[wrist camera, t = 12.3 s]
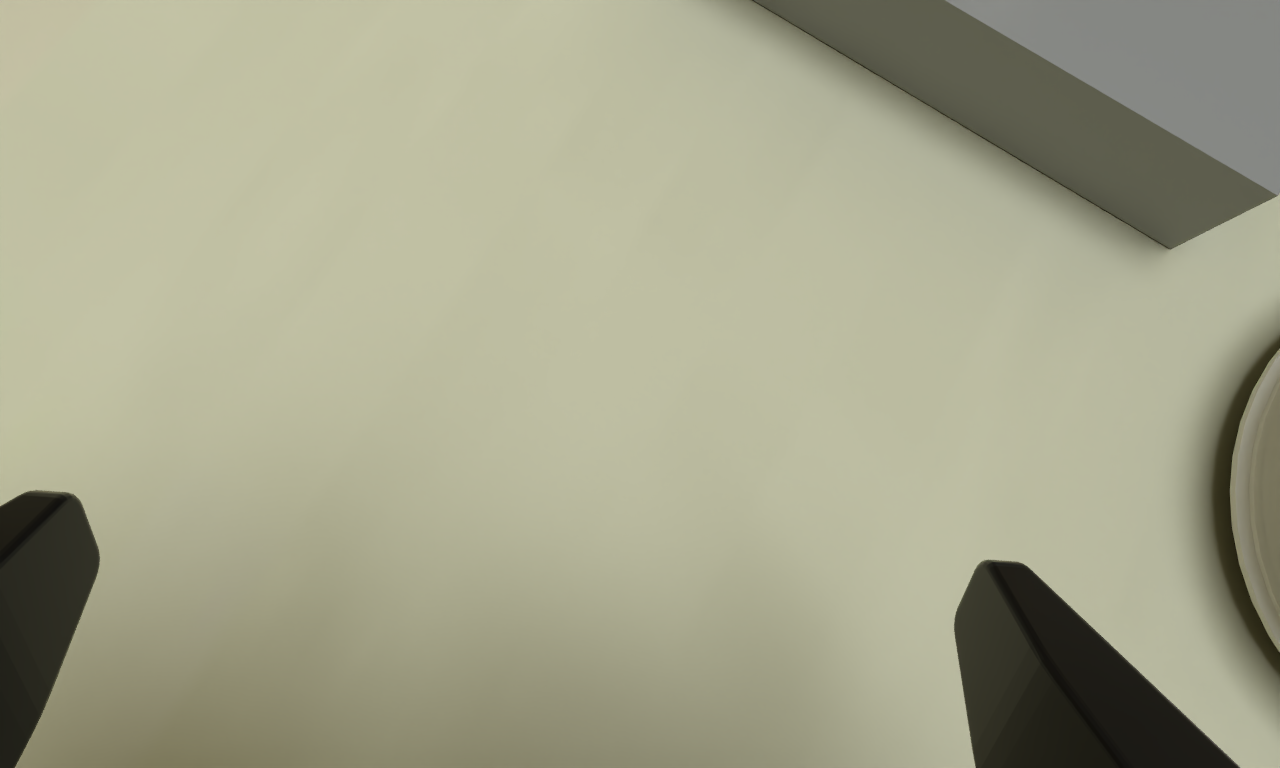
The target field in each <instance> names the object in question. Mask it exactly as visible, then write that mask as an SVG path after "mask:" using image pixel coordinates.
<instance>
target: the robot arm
mask: <svg viewBox="0 0 1280 768" xmlns="http://www.w3.org/2000/svg"><path fill="white" fill-rule="evenodd" d="M99 562H100V556H99V549H98V546H97V543H96V541H95V538H94V535H93V533H92V530H91V527H90V525H89V522H88V519H87V517H86V514H85V511H84V508H83V506H82V503H81V501H80V500H79V499H78V498H77V497H76V496H75V495H74V494H70V493H66V492H52V491H38V490H35V491H28V492H25V493H23V494H21V495H19V496H17V497H15V498H14V499H12V500H10V501H9V502H7V503H5V504H3V505H2V506H0V768H15V766H16V764H17V762H18V760H19V758H20V756H21V755H22V753H23V751H24V749H25V747H26V745H27V743H28V741H29V739H30V737H31V735H32V733H33V731H34V729H35V727H36V725H37V723H38V721H39V719H40V717H41V715H42V712H43V710H44V708H45V705H46V703H47V701H48V698H49V696H50V694H51V691H52V689H53V686H54V684H55V681H56V678H57V676H58V673H59V671H60V668H61V666H62V663H63V661H64V658H65V656H66V653H67V650H68V648H69V645H70V643H71V640H72V638H73V635H74V633H75V630H76V627H77V625H78V622H79V620H80V617H81V615H82V612H83V610H84V607H85V605H86V602H87V599H88V597H89V594H90V592H91V589H92V587H93V584H94V582H95V579H96V576H97V573H98V569H99ZM954 632H955V639H956V646H957V652H958V659H959V665H960V672H961V678H962V685H963V691H964V698H965V704H966V711H967V717H968V724H969V730H970V737H971V743H972V750H973V755H974V761H975V766H976V768H1240V767H1239V766H1238V765H1237V764H1236V763H1235V762H1234V761H1233V760H1232V759H1231V758H1230V757H1229V756H1228V755H1227V754H1225V753H1224V752H1223V751H1222V750H1221V749H1220V748H1219V747H1218V746H1217V745H1216V744H1215V743H1214V742H1213V741H1212V740H1211V739H1210V738H1209V737H1207V736H1206V735H1205V734H1204V733H1203V732H1202V731H1201V730H1200V729H1199V728H1198V727H1197V726H1196V725H1195V724H1194V723H1193V722H1192V721H1191V720H1190V719H1188V718H1187V717H1186V716H1185V715H1184V714H1183V713H1182V712H1181V711H1180V710H1179V709H1178V708H1177V707H1176V706H1175V705H1174V704H1173V703H1172V702H1170V701H1169V700H1168V699H1167V698H1166V697H1165V696H1164V695H1163V694H1162V693H1161V692H1160V691H1159V690H1158V689H1157V688H1156V687H1155V686H1154V685H1152V684H1151V683H1150V682H1149V681H1148V680H1147V679H1146V678H1145V677H1144V676H1143V675H1142V674H1141V673H1140V672H1139V671H1138V670H1137V669H1136V668H1135V667H1133V666H1132V665H1131V664H1130V663H1129V662H1128V661H1127V660H1126V659H1125V658H1124V657H1123V656H1122V655H1121V654H1120V653H1119V652H1118V651H1117V650H1115V649H1114V648H1113V647H1112V646H1111V645H1110V644H1109V643H1108V642H1107V641H1106V640H1105V639H1104V638H1103V637H1102V636H1101V635H1100V634H1099V633H1098V632H1096V631H1095V630H1094V629H1093V628H1092V627H1091V626H1090V625H1089V624H1088V623H1087V622H1086V621H1085V620H1084V619H1083V618H1082V617H1081V616H1080V615H1078V614H1077V613H1076V612H1075V611H1074V610H1073V609H1072V608H1071V607H1070V606H1069V605H1068V604H1067V603H1066V602H1065V601H1064V600H1063V599H1062V598H1060V597H1059V596H1058V595H1057V594H1056V593H1055V592H1054V591H1053V590H1052V589H1051V588H1050V587H1049V586H1048V585H1047V584H1046V583H1045V582H1044V581H1043V580H1041V579H1040V578H1039V577H1038V576H1037V575H1036V574H1035V573H1034V572H1033V571H1032V570H1031V569H1030V568H1028V567H1027V566H1026V565H1024V564H1022V563H1019V562H1012V561H999V560H984V561H982V562H981V563H980V564H979V565H978V566H977V568H976V569H975V571H974V573H973V576H972V578H971V580H970V582H969V584H968V587H967V589H966V591H965V593H964V595H963V598H962V600H961V602H960V604H959V606H958V609H957V611H956V615H955V623H954Z"/></svg>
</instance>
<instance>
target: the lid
mask: <svg viewBox="0 0 1280 768" xmlns="http://www.w3.org/2000/svg"><path fill="white" fill-rule="evenodd" d="M1230 503H1231V520H1232V530H1233V535H1234V540H1235V546H1236V551H1237V556H1238V561H1239V565H1240V568H1241V571H1242V574H1243V577H1244V580H1245V583H1246V586H1247V589H1248V592H1249V595H1250V598H1251V601H1252V603H1253V605H1254V607H1255V609H1256V611H1257V613H1258V615H1259V617H1260V619H1261V621H1262V623H1263V625H1264V627H1265V629H1266V631H1267V634H1268V635H1269V637H1270V638H1271V640H1272V642H1273V643H1274V645H1275V646H1276V648H1277V649H1278V651H1279V652H1280V349H1279V350H1278V351H1277V353H1276V354H1275V355H1274V356H1273V358H1272V359H1271V360H1270V361H1269V363H1268V364H1267V366H1266V368H1265V370H1264V371H1263V373H1262V375H1261V377H1260V378H1259V380H1258V382H1257V384H1256V385H1255V387H1254V389H1253V391H1252V393H1251V396H1250V398H1249V401H1248V403H1247V406H1246V408H1245V411H1244V414H1243V416H1242V419H1241V421H1240V425H1239V430H1238V434H1237V438H1236V443H1235V447H1234V452H1233V457H1232V469H1231V482H1230Z"/></svg>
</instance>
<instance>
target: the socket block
mask: <svg viewBox="0 0 1280 768" xmlns="http://www.w3.org/2000/svg"><path fill="white" fill-rule="evenodd" d="M754 1H755V2H757V3H759V4H760V5H762V6H764V7H765V8H767V9H769V10H770V11H772V12H774V13H775V14H777V15H779V16H780V17H782V18H784V19H786V20H787V21H789V22H791V23H792V24H794V25H796V26H797V27H799V28H801V29H802V30H804V31H806V32H807V33H809V34H811V35H812V36H814V37H816V38H817V39H819V40H821V41H822V42H824V43H826V44H827V45H829V46H831V47H832V48H834V49H836V50H837V51H839V52H841V53H843V54H844V55H846V56H848V57H849V58H851V59H853V60H854V61H856V62H858V63H859V64H861V65H863V66H864V67H866V68H868V69H869V70H871V71H873V72H874V73H876V74H878V75H879V76H881V77H883V78H884V79H886V80H888V81H889V82H891V83H893V84H894V85H896V86H898V87H900V88H901V89H903V90H905V91H906V92H908V93H910V94H911V95H913V96H915V97H916V98H918V99H920V100H921V101H923V102H925V103H926V104H928V105H930V106H931V107H933V108H935V109H936V110H938V111H940V112H941V113H943V114H945V115H946V116H948V117H950V118H951V119H953V120H955V121H957V122H958V123H960V124H962V125H963V126H965V127H967V128H968V129H970V130H972V131H973V132H975V133H977V134H978V135H980V136H982V137H983V138H985V139H987V140H988V141H990V142H992V143H993V144H995V145H997V146H998V147H1000V148H1002V149H1003V150H1005V151H1007V152H1008V153H1010V154H1012V155H1014V156H1015V157H1017V158H1019V159H1020V160H1022V161H1024V162H1025V163H1027V164H1029V165H1030V166H1032V167H1034V168H1035V169H1037V170H1039V171H1040V172H1042V173H1044V174H1045V175H1047V176H1049V177H1050V178H1052V179H1054V180H1055V181H1057V182H1059V183H1060V184H1062V185H1064V186H1065V187H1067V188H1069V189H1071V190H1072V191H1074V192H1076V193H1077V194H1079V195H1081V196H1082V197H1084V198H1086V199H1087V200H1089V201H1091V202H1092V203H1094V204H1096V205H1097V206H1099V207H1101V208H1102V209H1104V210H1106V211H1107V212H1109V213H1111V214H1112V215H1114V216H1116V217H1117V218H1119V219H1121V220H1122V221H1124V222H1126V223H1128V224H1129V225H1131V226H1133V227H1134V228H1136V229H1138V230H1139V231H1141V232H1143V233H1144V234H1146V235H1148V236H1149V237H1151V238H1153V239H1154V240H1156V241H1158V242H1159V243H1161V244H1163V245H1164V246H1166V247H1168V248H1169V249H1172V248H1174V247H1176V246H1178V245H1180V244H1182V243H1184V242H1186V241H1188V240H1190V239H1192V238H1194V237H1196V236H1198V235H1200V234H1202V233H1204V232H1206V231H1208V230H1210V229H1212V228H1214V227H1216V226H1218V225H1220V224H1222V223H1224V222H1226V221H1228V220H1230V219H1232V218H1234V217H1236V216H1238V215H1240V214H1242V213H1244V212H1246V211H1248V210H1250V209H1252V208H1254V207H1256V206H1258V205H1260V204H1262V203H1264V202H1266V201H1268V200H1270V199H1272V198H1274V197H1276V196H1278V194H1279V193H1280V0H754Z"/></svg>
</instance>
